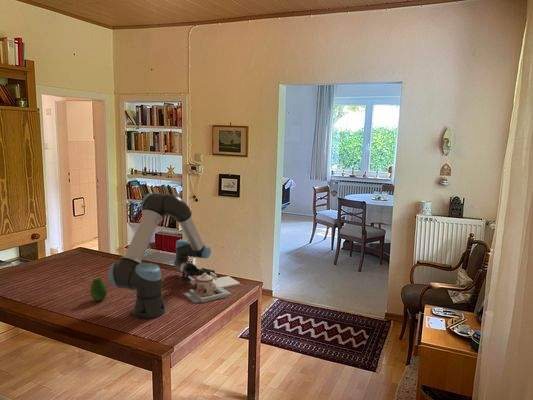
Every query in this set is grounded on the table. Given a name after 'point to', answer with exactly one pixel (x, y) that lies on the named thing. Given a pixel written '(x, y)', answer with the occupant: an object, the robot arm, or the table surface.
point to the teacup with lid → (205, 285)
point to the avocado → (98, 289)
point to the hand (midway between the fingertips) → (205, 279)
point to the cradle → (197, 298)
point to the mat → (225, 282)
